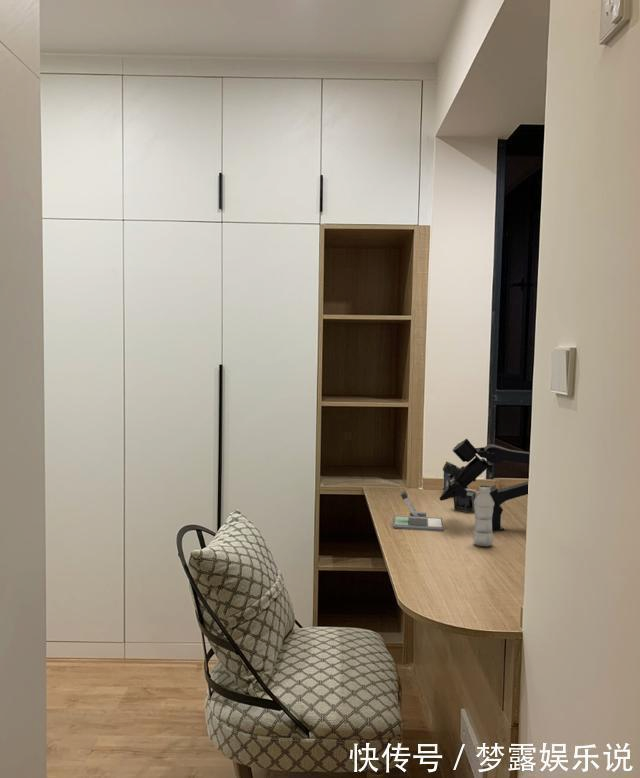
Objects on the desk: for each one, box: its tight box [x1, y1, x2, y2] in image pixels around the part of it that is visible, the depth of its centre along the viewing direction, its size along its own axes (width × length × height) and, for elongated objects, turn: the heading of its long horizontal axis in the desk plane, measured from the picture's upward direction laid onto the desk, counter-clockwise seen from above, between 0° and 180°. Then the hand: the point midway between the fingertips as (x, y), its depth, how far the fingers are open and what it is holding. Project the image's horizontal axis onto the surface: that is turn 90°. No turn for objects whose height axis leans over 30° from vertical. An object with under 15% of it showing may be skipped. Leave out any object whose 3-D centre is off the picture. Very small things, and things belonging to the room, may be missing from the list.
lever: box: [400, 490, 420, 517], centre depth 230 cm, size 2×4×12 cm
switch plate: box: [392, 510, 445, 532], centre depth 230 cm, size 18×14×4 cm
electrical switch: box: [452, 488, 478, 514], centre depth 248 cm, size 9×5×9 cm, turn 57°
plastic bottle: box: [472, 484, 494, 547], centre depth 206 cm, size 6×7×20 cm
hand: (440, 499), depth 228 cm, fingers closed
